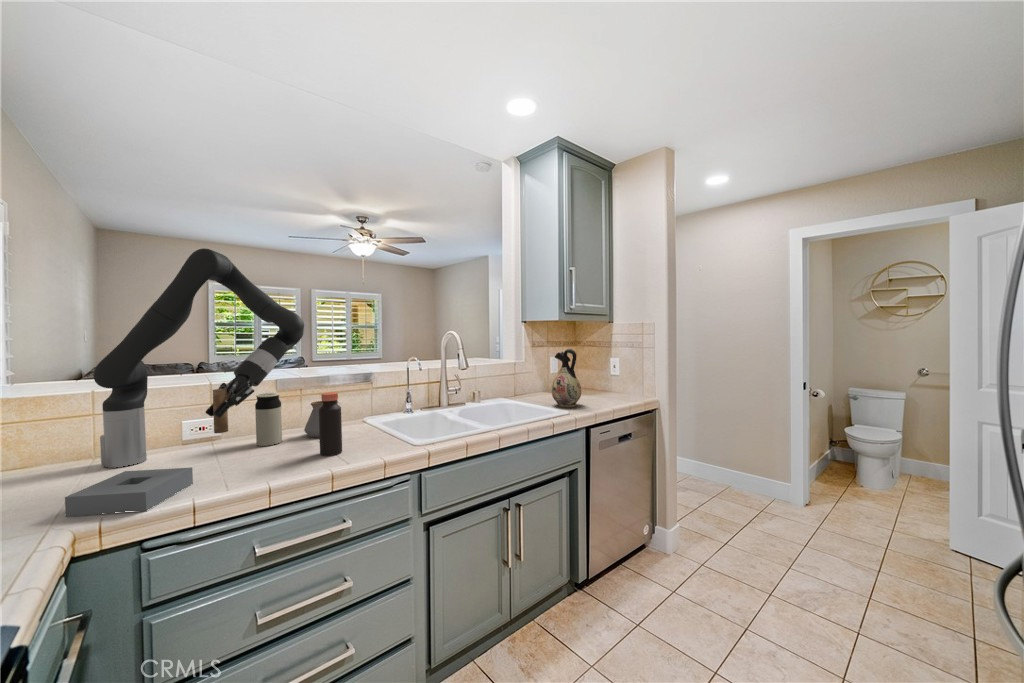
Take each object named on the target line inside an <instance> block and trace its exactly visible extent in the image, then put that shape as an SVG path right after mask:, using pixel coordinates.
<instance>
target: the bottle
mask: <svg viewBox="0 0 1024 683" xmlns="http://www.w3.org/2000/svg"><path fill="white" fill-rule="evenodd" d="M338 395H339V393H338V392H336V391H335V392H333V391H332V392H324V393H323V392H322V393H321V401H322V402H323V405H322V406H321V407H320V409H319V437H318V439H319V455H321V456H323V457H331V456H337V455H339V453H340V454H341V453H342V452H343V432H342V427H343V426H342V425H343V424H342V406H341V405H340V404H339V403H337V401H338V400H339V398H338V397H339V396H338ZM338 402H339V401H338Z"/></svg>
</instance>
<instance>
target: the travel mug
mask: <svg viewBox="0 0 1024 683" xmlns="http://www.w3.org/2000/svg"><path fill="white" fill-rule="evenodd" d="M280 395H281V393H280V392H265V393H263V392H262V393H258V394H256V395H255V397H256V400H257V401H256V403H255V404H254V409H255V410H254V413H255V438H256V439H255V440H256V443H255V444H256V445H257V446H258V445H259V447H269V446H268V445H271V446H275V445H274V444H276V445H279V444H280V443H282V442H283V424H282V423H283V420H282V416H283V415H282V401H281V400H280V399H279V398H280ZM278 443H279V444H278Z"/></svg>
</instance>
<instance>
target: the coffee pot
mask: <svg viewBox="0 0 1024 683" xmlns="http://www.w3.org/2000/svg"><path fill="white" fill-rule="evenodd" d="M337 404H340V402H339V401H337ZM322 405H323V402H322V400H319V401H318V400H317V401H313V402H312V401H311V403H310V406H312V410H311V412H310V413H309V416H308V420H307V422H306V424H305V427H304V429H303V430H304V433H305V434H307V435H308V436H309V437H310V436H311V438H314V437H317V438H319V409H320V407H321V406H322Z"/></svg>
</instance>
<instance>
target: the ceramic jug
mask: <svg viewBox="0 0 1024 683" xmlns="http://www.w3.org/2000/svg"><path fill="white" fill-rule="evenodd" d="M568 354H571V355H572V360H571V358H570V356H568ZM554 358H555V359H557V360H559V361H561V367H560V369H559V371H558V372H557V373H556V375H555V377H554V380H553V381H552V384H551V395H552V398H553V400H554V401H555V402H556V403H557V406H558V407H559V408H560V407H561V408H573V407H574V408H575V407H576V406H577V403H578V401H579V400H580V398H581V397H582V387H581V383H580V381H579V379H578V377H577V374H576V372H575V370H574V369H575V367H576V362H577V352H576V351H575V350H574V349H572V348H568V349H565V350H564V351H561V352H556V354H555V355H554ZM570 362H571V365H569V363H570Z"/></svg>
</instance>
